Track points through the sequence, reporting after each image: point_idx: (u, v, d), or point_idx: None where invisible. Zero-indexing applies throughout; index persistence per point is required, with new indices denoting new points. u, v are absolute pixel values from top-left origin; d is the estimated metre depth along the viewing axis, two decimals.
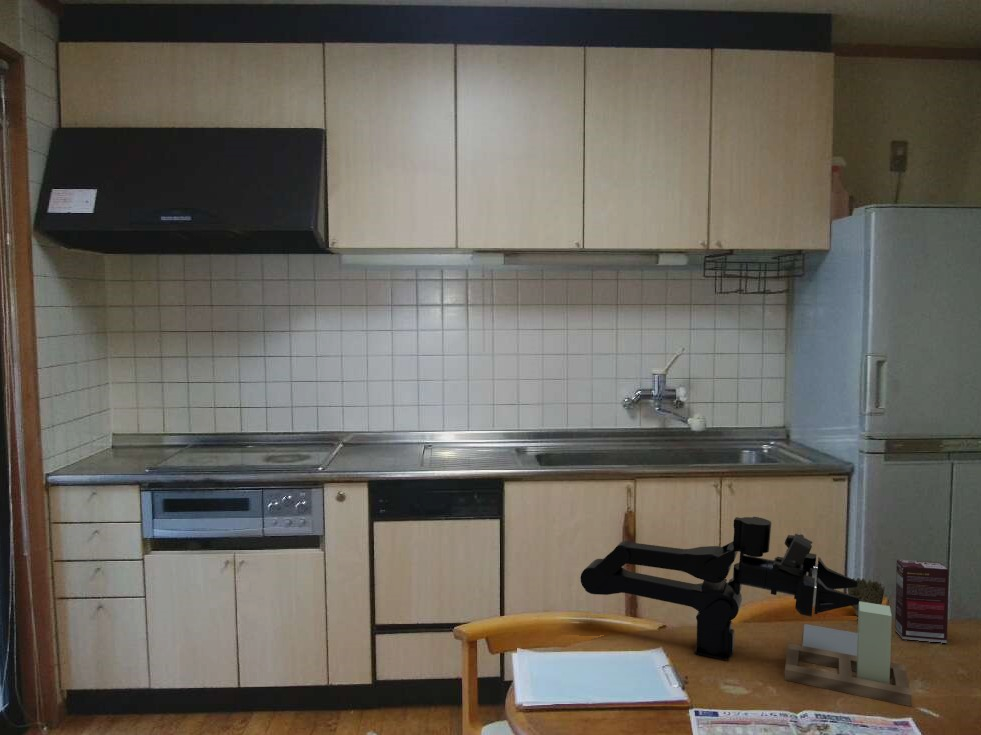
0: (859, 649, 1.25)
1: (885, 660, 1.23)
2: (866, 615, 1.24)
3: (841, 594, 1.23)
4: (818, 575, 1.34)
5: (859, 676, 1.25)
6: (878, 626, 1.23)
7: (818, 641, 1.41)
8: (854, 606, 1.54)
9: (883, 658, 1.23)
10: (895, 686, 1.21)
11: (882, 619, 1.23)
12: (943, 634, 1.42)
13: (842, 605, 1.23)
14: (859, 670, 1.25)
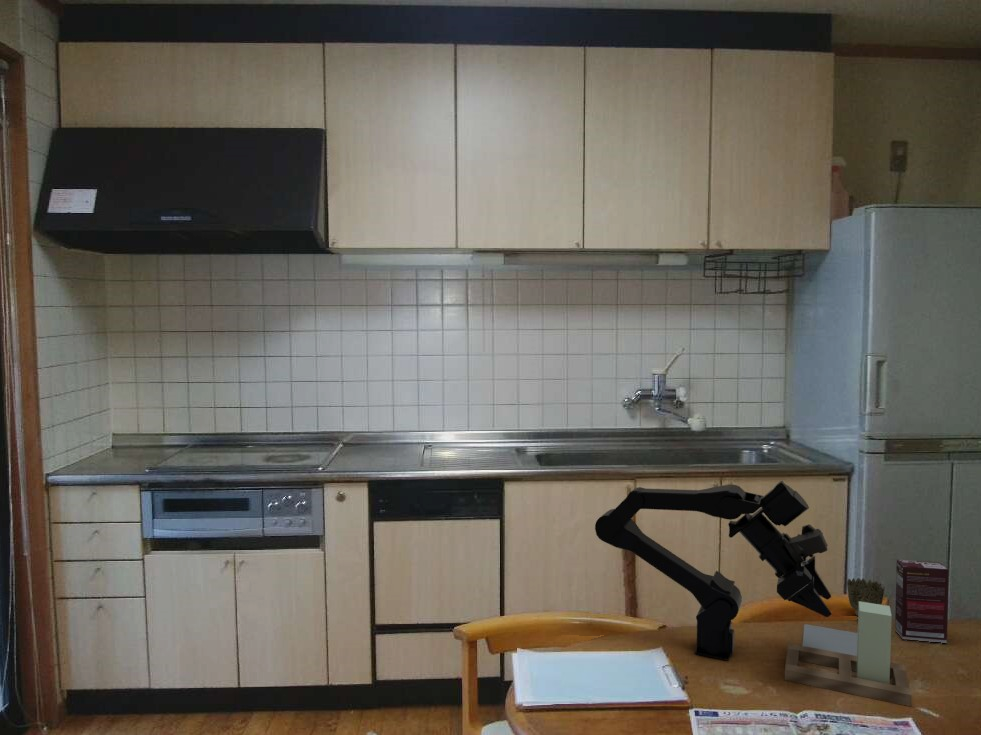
0: (859, 649, 1.25)
1: (885, 660, 1.23)
2: (866, 615, 1.24)
3: (821, 601, 1.24)
4: None
5: (859, 676, 1.25)
6: (877, 626, 1.23)
7: (818, 641, 1.41)
8: (854, 606, 1.54)
9: (883, 658, 1.23)
10: (895, 686, 1.21)
11: (882, 619, 1.23)
12: (943, 634, 1.42)
13: (813, 609, 1.25)
14: (859, 670, 1.25)
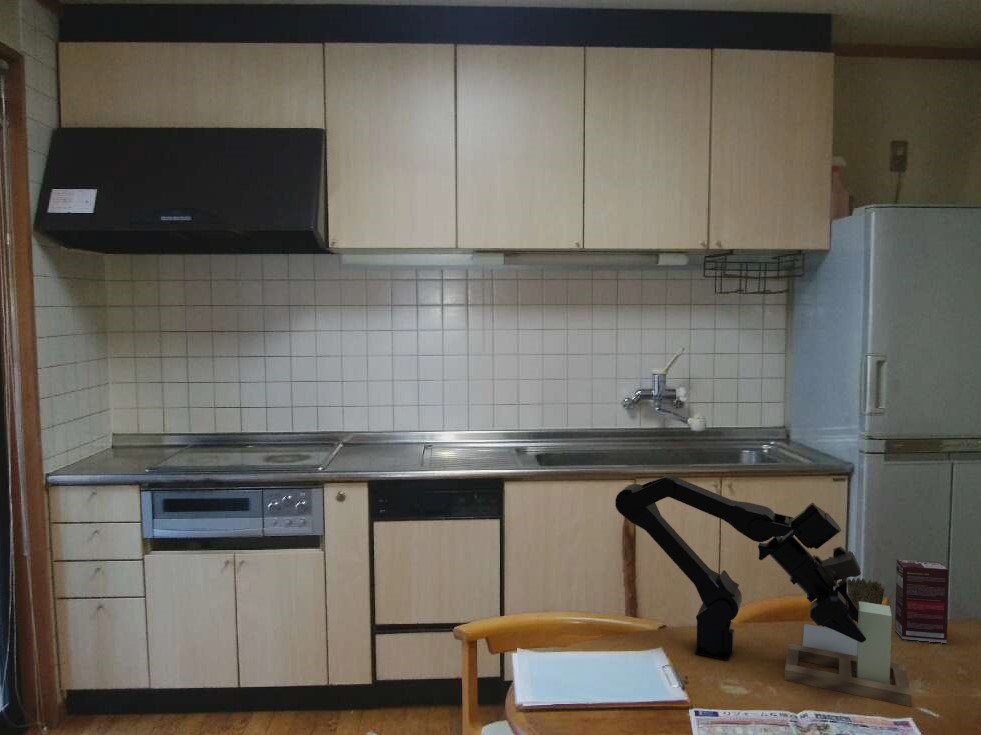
0: (859, 649, 1.25)
1: (885, 660, 1.23)
2: (866, 615, 1.24)
3: (855, 627, 1.22)
4: None
5: (859, 676, 1.25)
6: (878, 626, 1.23)
7: (818, 641, 1.41)
8: None
9: (883, 658, 1.23)
10: (895, 686, 1.21)
11: (882, 619, 1.23)
12: (943, 634, 1.42)
13: (848, 634, 1.23)
14: (859, 670, 1.25)
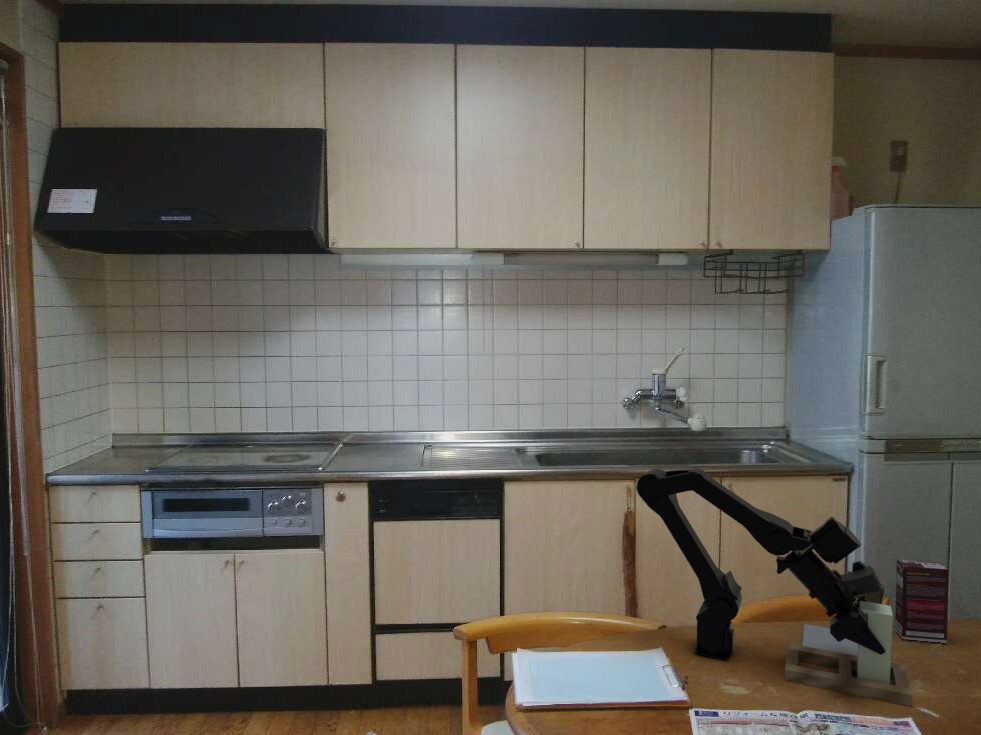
0: (860, 648, 1.25)
1: (885, 660, 1.23)
2: None
3: (875, 639, 1.22)
4: None
5: (859, 675, 1.25)
6: (878, 626, 1.23)
7: (818, 641, 1.41)
8: None
9: (884, 658, 1.23)
10: (895, 686, 1.21)
11: (883, 619, 1.23)
12: (943, 634, 1.42)
13: (867, 646, 1.23)
14: (859, 669, 1.25)
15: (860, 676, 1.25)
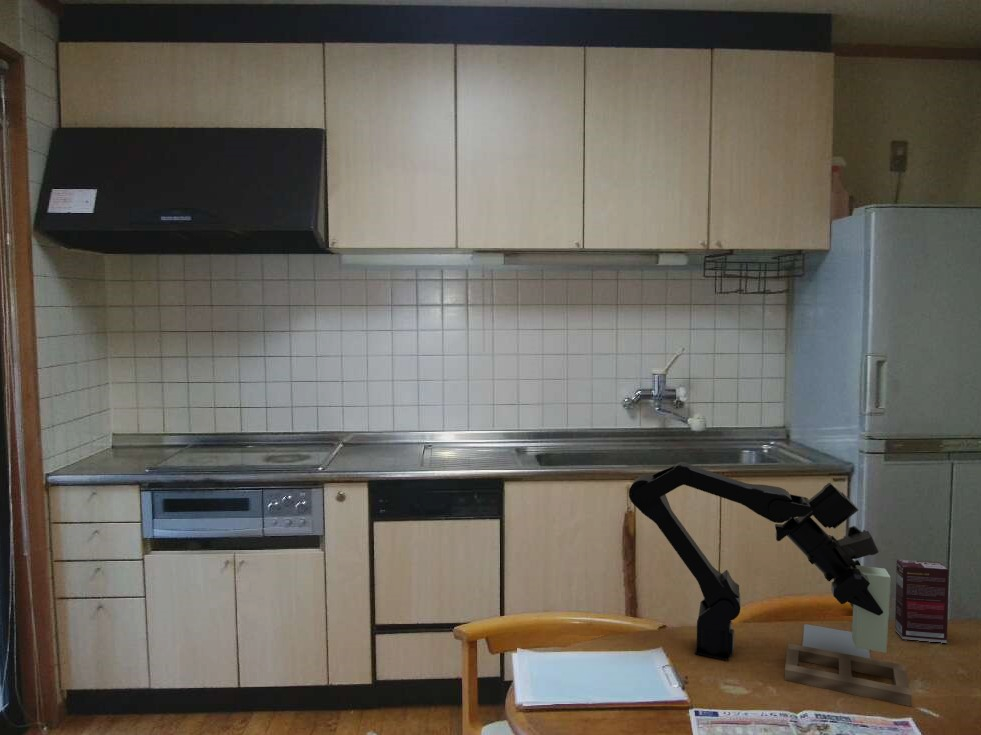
0: (858, 611, 1.27)
1: (883, 621, 1.26)
2: None
3: (874, 600, 1.25)
4: None
5: (858, 637, 1.27)
6: (877, 588, 1.26)
7: (818, 641, 1.41)
8: None
9: (882, 619, 1.26)
10: (895, 686, 1.21)
11: (881, 581, 1.25)
12: (943, 634, 1.42)
13: (866, 608, 1.25)
14: (858, 631, 1.27)
15: (858, 638, 1.27)
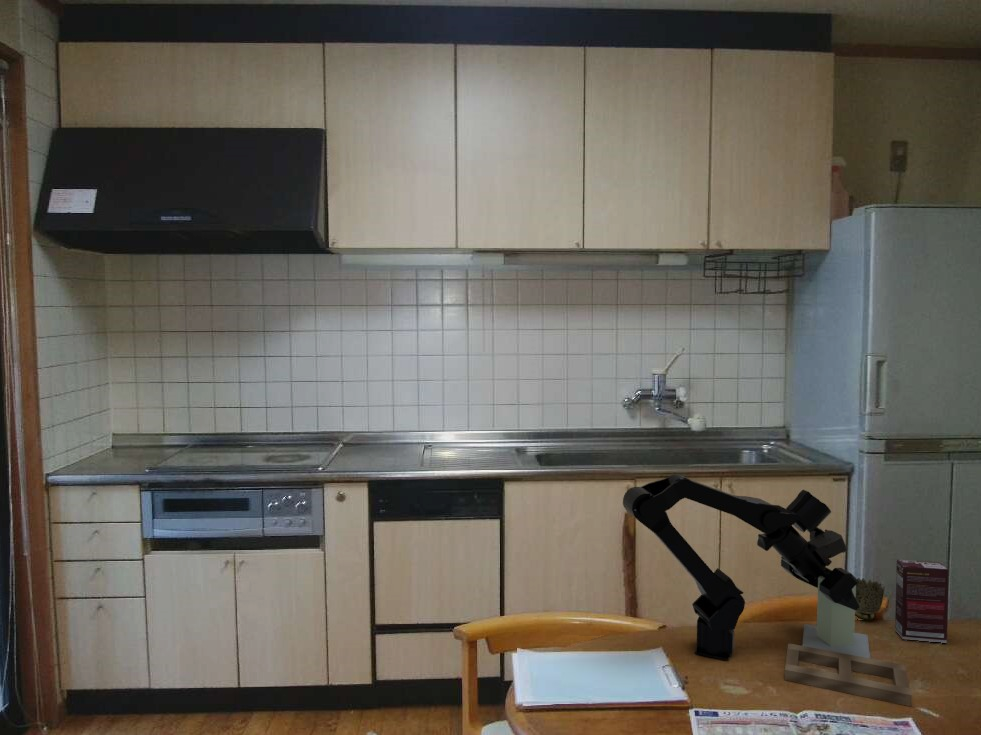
0: (832, 612, 1.39)
1: (851, 618, 1.39)
2: None
3: (854, 597, 1.35)
4: None
5: (832, 637, 1.39)
6: None
7: (818, 641, 1.41)
8: None
9: (850, 616, 1.39)
10: (895, 686, 1.21)
11: None
12: (943, 634, 1.42)
13: (848, 605, 1.35)
14: (832, 631, 1.39)
15: (832, 637, 1.39)
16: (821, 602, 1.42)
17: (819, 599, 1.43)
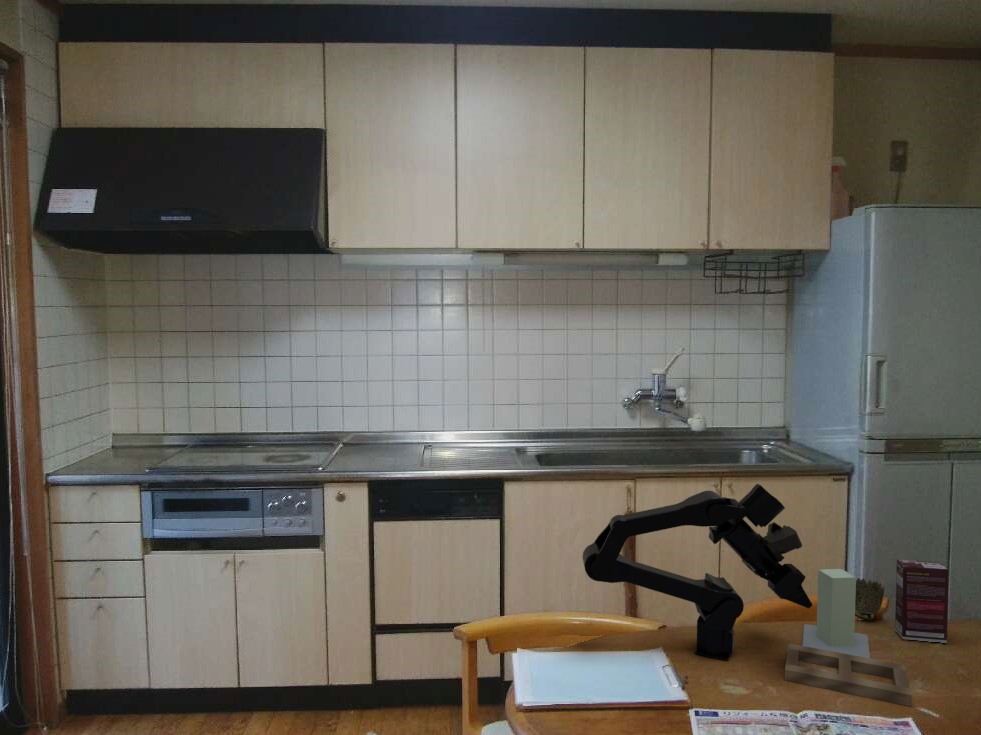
0: (832, 612, 1.39)
1: (851, 618, 1.39)
2: (837, 580, 1.38)
3: (805, 594, 1.32)
4: None
5: (832, 637, 1.39)
6: (846, 589, 1.38)
7: (818, 641, 1.41)
8: None
9: (850, 616, 1.39)
10: (895, 686, 1.21)
11: (849, 581, 1.38)
12: (943, 634, 1.42)
13: (799, 602, 1.32)
14: (832, 631, 1.39)
15: (832, 637, 1.39)
16: (821, 602, 1.42)
17: (818, 599, 1.43)
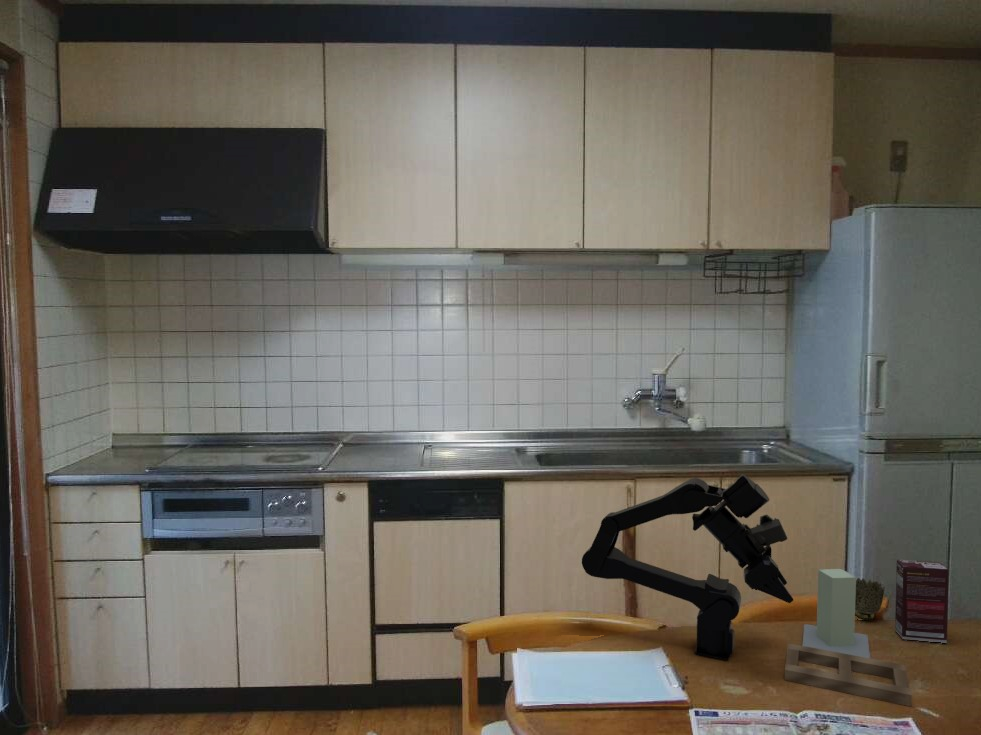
0: (832, 612, 1.39)
1: (851, 618, 1.39)
2: (837, 580, 1.38)
3: (784, 588, 1.29)
4: None
5: (832, 637, 1.39)
6: (846, 589, 1.38)
7: (818, 641, 1.41)
8: None
9: (850, 616, 1.39)
10: (895, 686, 1.21)
11: (849, 581, 1.38)
12: (943, 634, 1.42)
13: (777, 596, 1.29)
14: (832, 631, 1.39)
15: (832, 637, 1.39)
16: (821, 602, 1.42)
17: (818, 599, 1.43)
